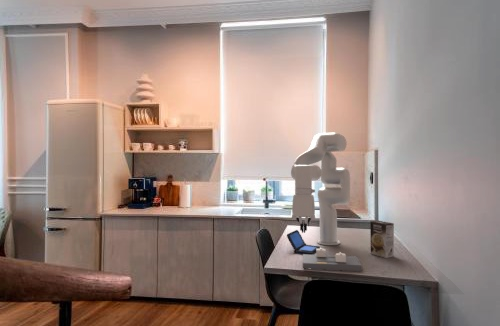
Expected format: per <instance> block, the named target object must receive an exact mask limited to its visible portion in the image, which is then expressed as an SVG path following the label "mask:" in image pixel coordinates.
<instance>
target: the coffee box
mask: <svg viewBox="0 0 500 326" xmlns="http://www.w3.org/2000/svg"><path fill="white" fill-rule="evenodd" d="M369 223H370V230H369V231H370V234H369V235H370V255H375V256H378V257H381V258H385V259H388V258H391V257H394V256H395V255H394V251H395V249H394V245H395V244H394V241H395V239H394V233H395V231H394V227H395V226H394V225H395V224H394V222H388V221H383V220H371V221H370V222H369Z"/></svg>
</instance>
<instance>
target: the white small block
mask: <svg viewBox="0 0 500 326" xmlns="http://www.w3.org/2000/svg"><path fill="white" fill-rule="evenodd" d="M335 255H336V262H346V256H347V255H346V253H342V252H341V251H339V252H338V253H337V252H336V253H335Z"/></svg>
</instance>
